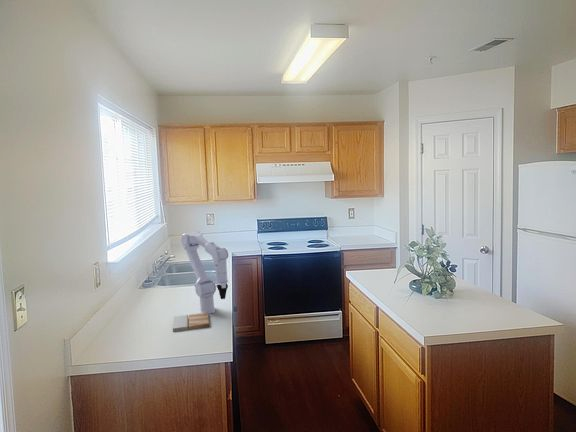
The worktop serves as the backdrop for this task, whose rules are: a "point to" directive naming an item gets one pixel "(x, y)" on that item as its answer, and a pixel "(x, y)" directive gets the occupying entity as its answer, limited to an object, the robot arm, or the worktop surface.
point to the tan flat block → (198, 320)
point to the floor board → (180, 323)
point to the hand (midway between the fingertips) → (222, 298)
